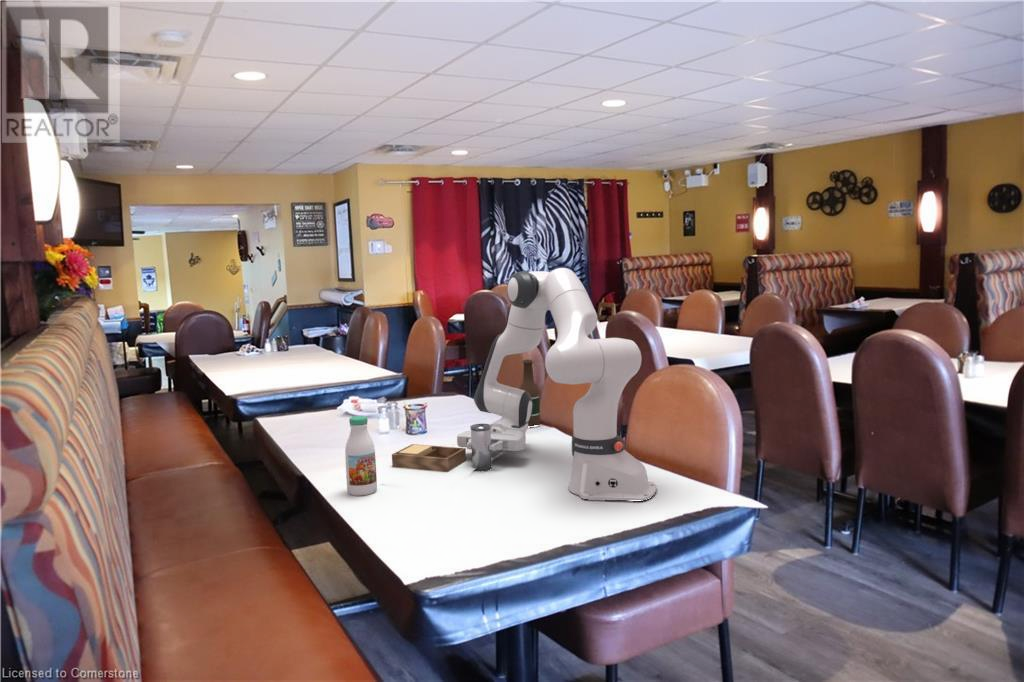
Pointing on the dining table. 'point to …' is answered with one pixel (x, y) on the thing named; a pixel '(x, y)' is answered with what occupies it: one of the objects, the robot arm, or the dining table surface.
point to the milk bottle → (360, 459)
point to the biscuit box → (417, 450)
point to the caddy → (431, 459)
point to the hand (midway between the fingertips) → (480, 447)
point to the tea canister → (481, 447)
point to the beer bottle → (531, 391)
